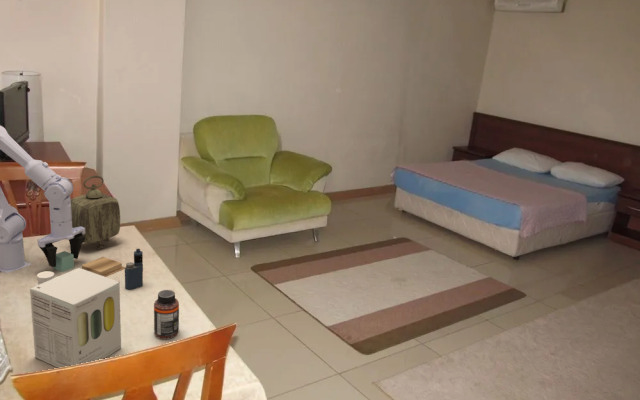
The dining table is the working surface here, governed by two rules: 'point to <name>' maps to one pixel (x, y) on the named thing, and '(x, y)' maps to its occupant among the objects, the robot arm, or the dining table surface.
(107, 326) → the supplement box
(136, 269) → the vaping device
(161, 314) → the supplement bottle
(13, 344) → the dining table surface
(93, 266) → the top slab
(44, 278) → the pill bottle
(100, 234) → the tabletop clock
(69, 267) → the block
